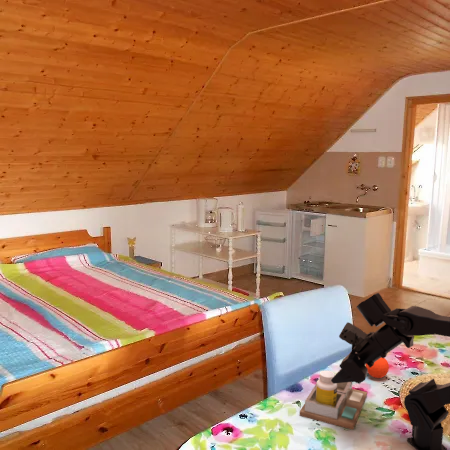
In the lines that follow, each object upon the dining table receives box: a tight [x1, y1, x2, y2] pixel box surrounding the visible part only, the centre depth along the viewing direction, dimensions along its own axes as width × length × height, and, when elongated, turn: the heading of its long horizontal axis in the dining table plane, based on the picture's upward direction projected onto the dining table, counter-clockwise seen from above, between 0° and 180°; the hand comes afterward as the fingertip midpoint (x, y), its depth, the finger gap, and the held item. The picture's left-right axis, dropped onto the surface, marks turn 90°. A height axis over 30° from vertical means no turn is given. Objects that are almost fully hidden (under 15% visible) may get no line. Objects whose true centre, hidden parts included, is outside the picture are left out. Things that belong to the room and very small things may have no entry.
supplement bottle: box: [315, 370, 337, 407], centre depth 126 cm, size 5×5×10 cm
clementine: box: [365, 357, 390, 379], centre depth 147 cm, size 8×7×7 cm
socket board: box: [299, 388, 368, 430], centre depth 131 cm, size 19×14×2 cm
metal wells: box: [304, 382, 353, 420], centre depth 131 cm, size 18×9×3 cm, turn 153°
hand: (336, 374), depth 124 cm, fingers open, 9 cm apart
